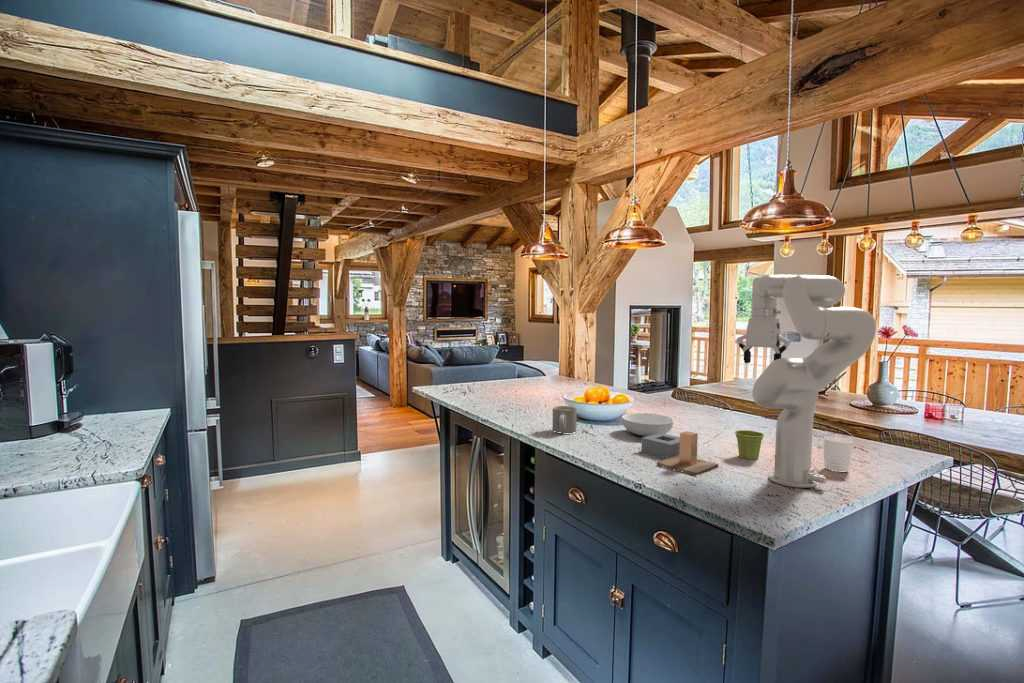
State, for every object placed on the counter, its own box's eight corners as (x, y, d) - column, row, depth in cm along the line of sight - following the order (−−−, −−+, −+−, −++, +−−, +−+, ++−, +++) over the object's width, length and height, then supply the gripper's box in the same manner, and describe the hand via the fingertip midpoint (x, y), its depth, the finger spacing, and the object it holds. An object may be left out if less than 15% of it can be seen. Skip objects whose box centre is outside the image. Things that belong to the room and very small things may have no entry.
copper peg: (696, 463, 166) (697, 433, 165) (690, 465, 163) (691, 435, 163) (685, 460, 169) (686, 431, 168) (679, 463, 166) (680, 433, 166)
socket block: (689, 452, 182) (689, 439, 182) (670, 458, 174) (671, 444, 174) (660, 445, 191) (660, 432, 191) (641, 451, 183) (641, 437, 183)
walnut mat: (718, 467, 165) (718, 464, 165) (696, 475, 156) (696, 472, 156) (679, 457, 176) (679, 454, 176) (657, 465, 167) (657, 462, 167)
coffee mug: (557, 427, 219) (557, 405, 218) (579, 430, 215) (579, 407, 214) (545, 434, 207) (546, 410, 207) (568, 437, 203) (568, 412, 202)
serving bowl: (628, 440, 199) (629, 423, 198) (616, 428, 219) (616, 412, 219) (681, 440, 199) (681, 423, 199) (663, 428, 220) (663, 412, 220)
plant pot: (727, 455, 179) (728, 431, 178) (745, 452, 183) (746, 428, 183) (751, 462, 170) (752, 437, 170) (769, 459, 175) (770, 434, 174)
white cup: (837, 474, 159) (839, 443, 158) (816, 466, 167) (817, 437, 166) (857, 472, 161) (858, 441, 160) (835, 465, 169) (836, 435, 168)
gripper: (795, 314, 166) (793, 365, 167) (743, 313, 179) (741, 361, 180) (786, 314, 161) (784, 367, 162) (733, 313, 174) (731, 362, 175)
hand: (761, 364), depth 171 cm, fingers open, 9 cm apart
